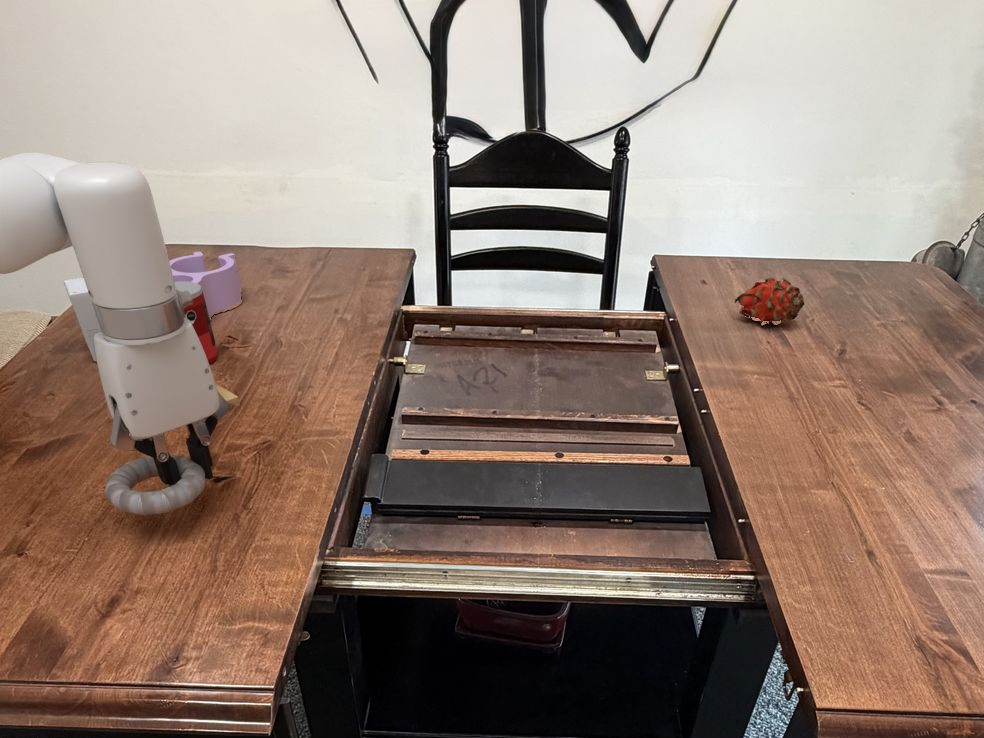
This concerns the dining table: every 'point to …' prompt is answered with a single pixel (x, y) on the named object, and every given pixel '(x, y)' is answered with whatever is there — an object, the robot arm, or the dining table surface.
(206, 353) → the canned food
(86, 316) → the small box
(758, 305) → the dragon fruit
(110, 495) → the ring
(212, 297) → the clip
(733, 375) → the dining table surface
